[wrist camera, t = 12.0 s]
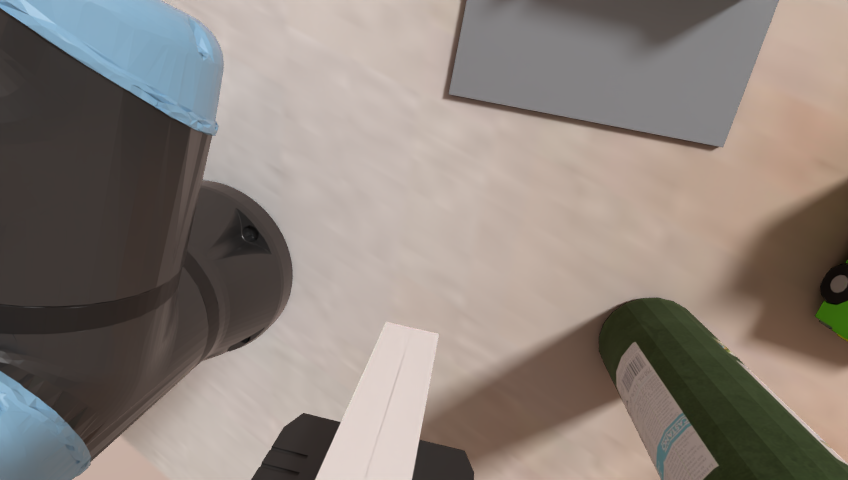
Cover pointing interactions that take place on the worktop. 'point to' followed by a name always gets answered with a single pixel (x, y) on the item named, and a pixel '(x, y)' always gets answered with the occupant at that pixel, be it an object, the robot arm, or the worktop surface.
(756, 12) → the mat
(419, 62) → the worktop surface
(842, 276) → the toy car
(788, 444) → the wine bottle
